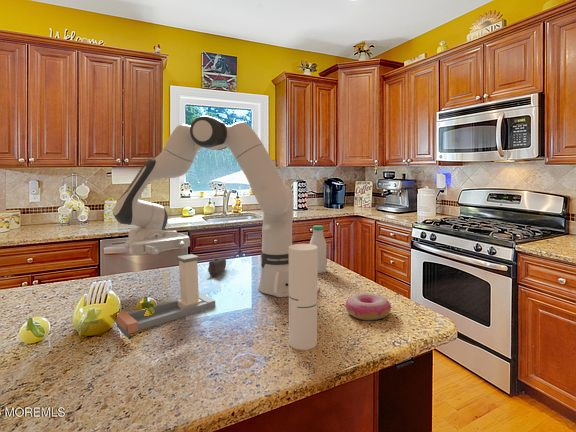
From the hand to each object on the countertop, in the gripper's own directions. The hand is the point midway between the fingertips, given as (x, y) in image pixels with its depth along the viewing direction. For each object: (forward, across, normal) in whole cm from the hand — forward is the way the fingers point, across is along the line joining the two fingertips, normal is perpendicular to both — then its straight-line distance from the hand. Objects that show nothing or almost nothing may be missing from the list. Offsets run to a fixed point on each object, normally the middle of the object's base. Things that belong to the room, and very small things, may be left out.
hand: (169, 248), depth 112 cm
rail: (+12, -6, +18) cm, 23 cm away
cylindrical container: (+50, +12, +18) cm, 55 cm away
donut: (+51, +40, +18) cm, 67 cm away
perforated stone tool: (-17, +29, +18) cm, 38 cm away
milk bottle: (+10, +62, +18) cm, 65 cm away
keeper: (+12, 0, +17) cm, 21 cm away
